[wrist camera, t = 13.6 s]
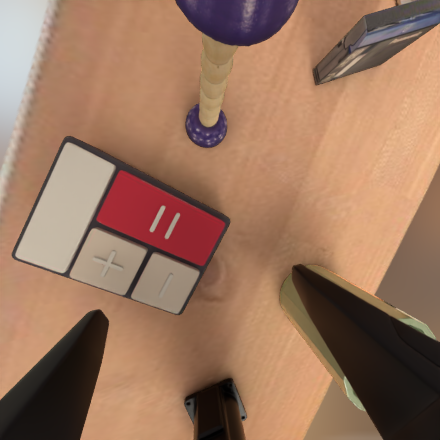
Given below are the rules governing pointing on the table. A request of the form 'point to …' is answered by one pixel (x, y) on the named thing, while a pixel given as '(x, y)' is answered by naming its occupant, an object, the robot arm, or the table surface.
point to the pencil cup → (313, 338)
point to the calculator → (119, 229)
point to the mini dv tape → (378, 39)
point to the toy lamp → (226, 52)
